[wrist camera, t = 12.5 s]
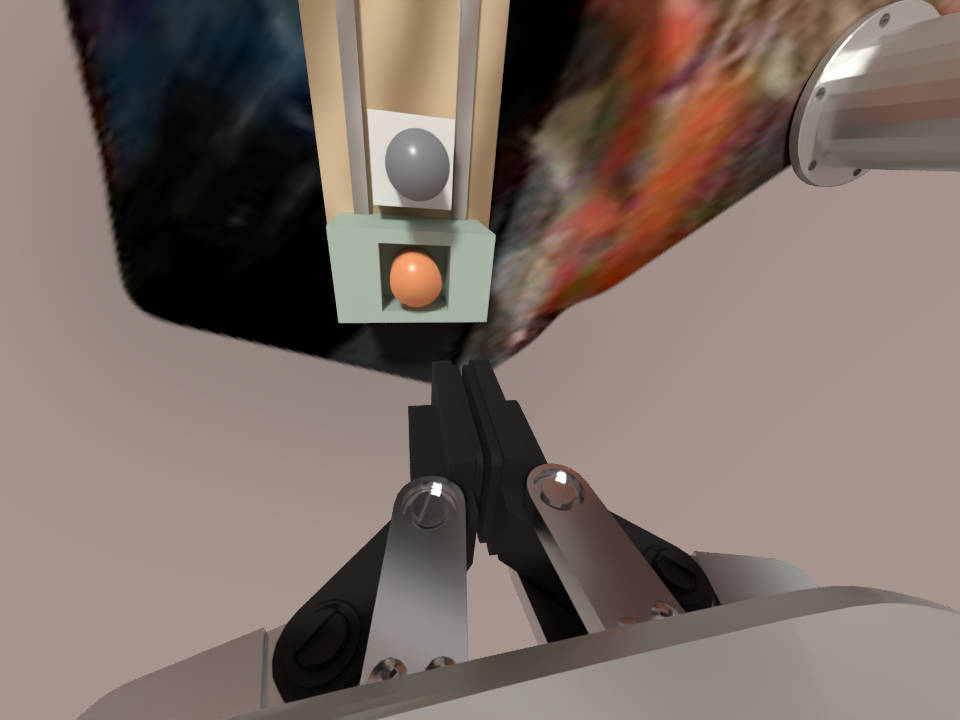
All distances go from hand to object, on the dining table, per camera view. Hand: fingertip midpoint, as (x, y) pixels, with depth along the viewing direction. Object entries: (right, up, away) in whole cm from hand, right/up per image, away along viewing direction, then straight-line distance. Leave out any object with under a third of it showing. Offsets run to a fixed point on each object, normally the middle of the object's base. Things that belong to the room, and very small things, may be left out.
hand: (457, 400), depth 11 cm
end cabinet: (-5, +10, +18) cm, 21 cm away
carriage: (-4, +15, +13) cm, 20 cm away
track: (-4, +17, +14) cm, 22 cm away
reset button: (-4, +8, +13) cm, 16 cm away
